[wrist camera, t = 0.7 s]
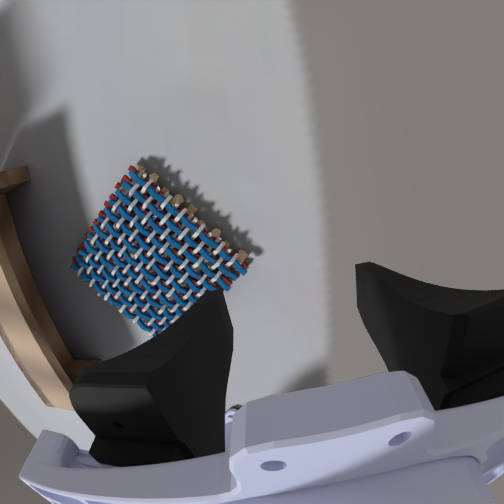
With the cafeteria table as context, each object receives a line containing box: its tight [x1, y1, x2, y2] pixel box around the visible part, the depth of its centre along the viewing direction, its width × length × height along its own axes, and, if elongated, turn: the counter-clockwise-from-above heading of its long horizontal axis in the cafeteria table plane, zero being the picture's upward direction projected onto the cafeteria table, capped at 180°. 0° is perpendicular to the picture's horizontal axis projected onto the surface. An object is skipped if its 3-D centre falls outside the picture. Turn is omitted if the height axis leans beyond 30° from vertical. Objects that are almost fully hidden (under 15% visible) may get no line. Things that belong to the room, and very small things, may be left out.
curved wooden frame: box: [0, 166, 102, 411], centre depth 19 cm, size 20×5×6 cm, turn 11°
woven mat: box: [71, 165, 249, 337], centre depth 20 cm, size 10×11×2 cm
